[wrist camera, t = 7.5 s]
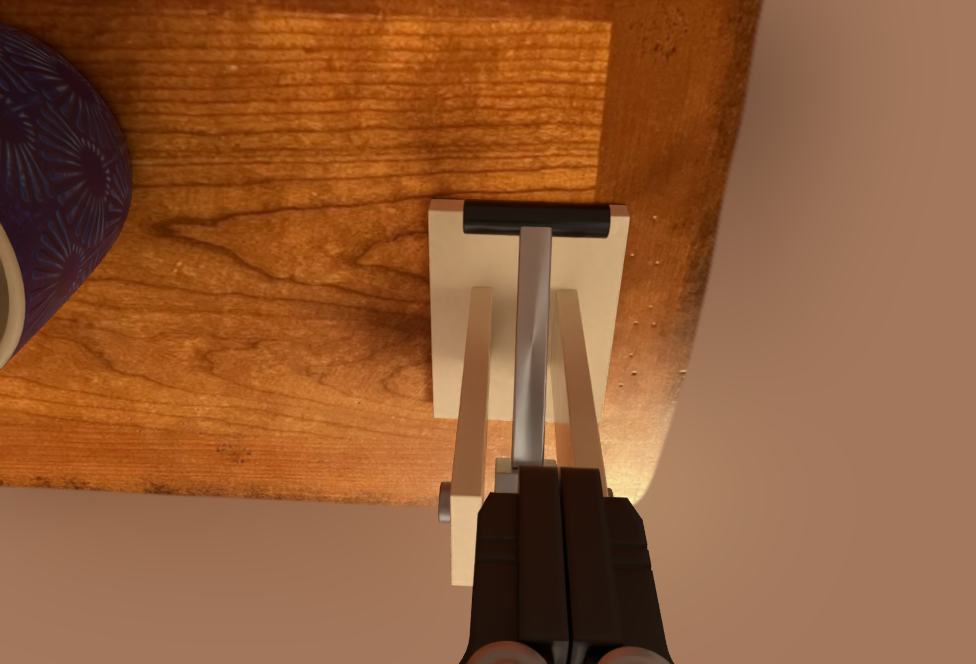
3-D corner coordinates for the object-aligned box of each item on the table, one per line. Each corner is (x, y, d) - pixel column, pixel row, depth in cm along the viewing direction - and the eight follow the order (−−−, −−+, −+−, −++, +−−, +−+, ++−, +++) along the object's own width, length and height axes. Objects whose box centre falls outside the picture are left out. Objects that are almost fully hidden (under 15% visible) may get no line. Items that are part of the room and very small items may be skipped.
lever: (465, 204, 25) (462, 193, 23) (604, 208, 25) (614, 198, 23) (455, 530, 26) (450, 553, 24) (590, 536, 26) (600, 559, 23)
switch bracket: (430, 198, 32) (378, 398, 20) (626, 204, 32) (696, 409, 20) (435, 402, 39) (398, 648, 26) (598, 408, 39) (638, 658, 26)
